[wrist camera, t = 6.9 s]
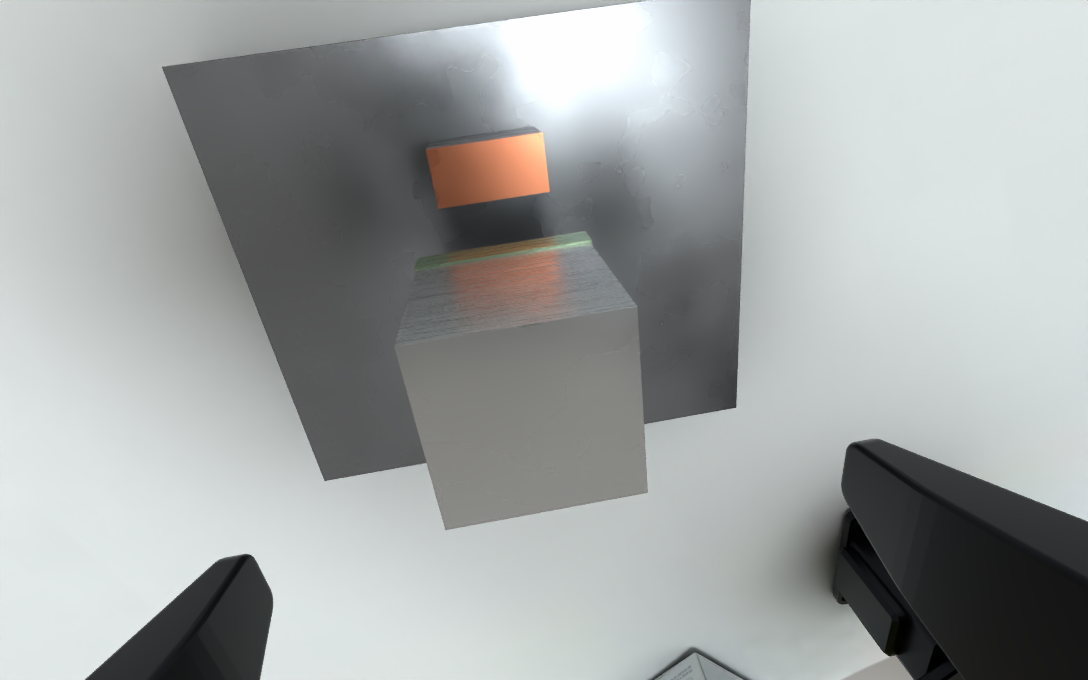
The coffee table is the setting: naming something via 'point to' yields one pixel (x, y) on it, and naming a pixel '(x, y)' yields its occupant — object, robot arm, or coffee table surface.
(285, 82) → the stand
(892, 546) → the robot arm
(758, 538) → the coffee table surface
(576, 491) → the grey metal cube
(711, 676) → the tea box
